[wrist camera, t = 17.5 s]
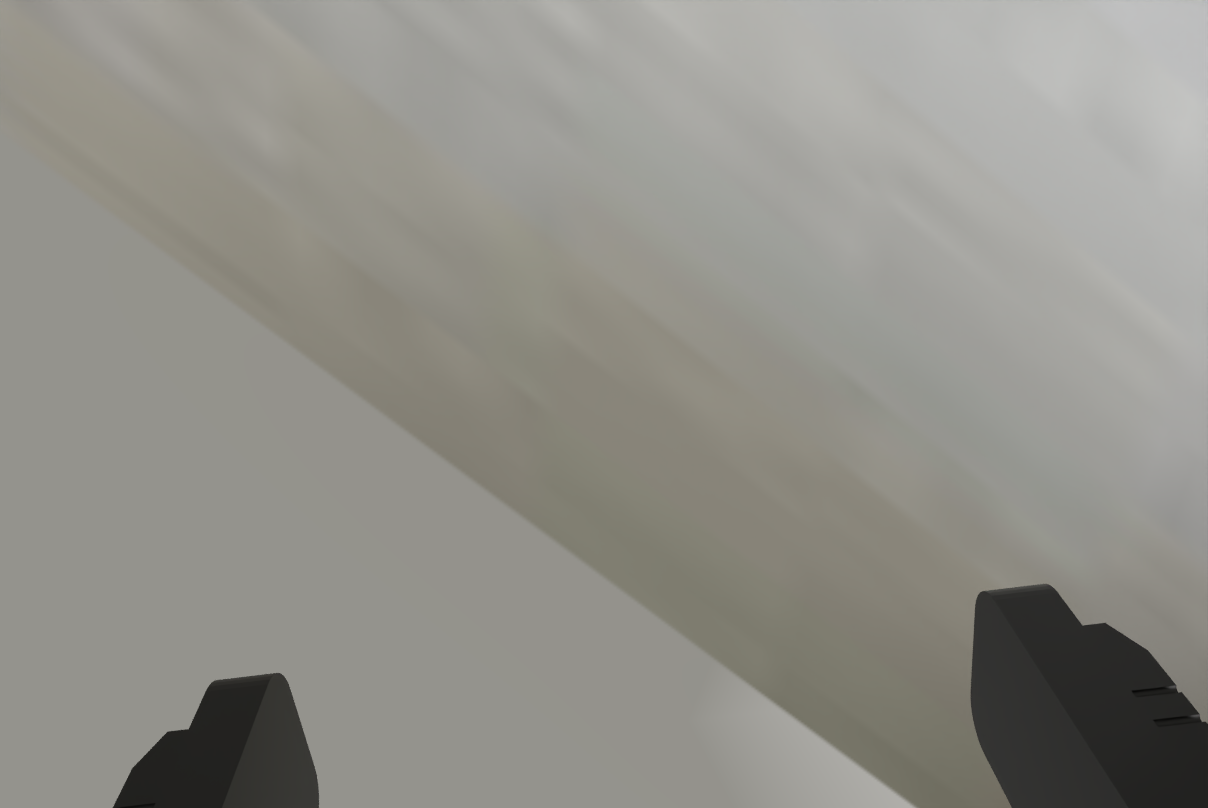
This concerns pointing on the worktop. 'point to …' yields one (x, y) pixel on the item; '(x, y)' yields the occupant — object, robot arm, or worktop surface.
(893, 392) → the worktop surface
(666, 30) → the worktop surface
